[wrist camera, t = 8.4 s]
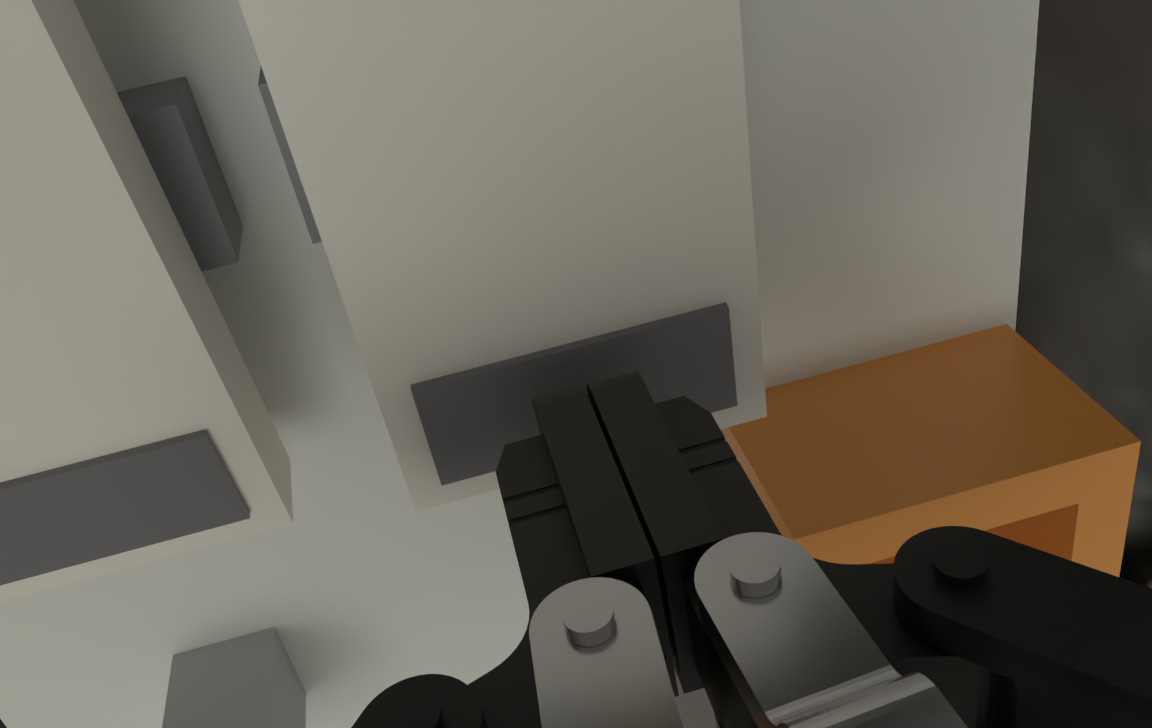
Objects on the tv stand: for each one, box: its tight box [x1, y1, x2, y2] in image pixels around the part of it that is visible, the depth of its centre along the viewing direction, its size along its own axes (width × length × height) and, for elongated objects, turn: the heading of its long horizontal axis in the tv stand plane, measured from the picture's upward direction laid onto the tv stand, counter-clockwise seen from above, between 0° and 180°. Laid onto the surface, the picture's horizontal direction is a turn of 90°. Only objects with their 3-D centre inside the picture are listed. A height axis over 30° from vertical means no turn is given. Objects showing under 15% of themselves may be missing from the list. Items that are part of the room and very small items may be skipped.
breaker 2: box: [238, 0, 767, 512], centre depth 14 cm, size 10×6×2 cm, turn 10°
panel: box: [0, 0, 1039, 728], centre depth 15 cm, size 21×21×7 cm
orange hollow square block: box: [720, 324, 1141, 577], centre depth 20 cm, size 6×6×4 cm
